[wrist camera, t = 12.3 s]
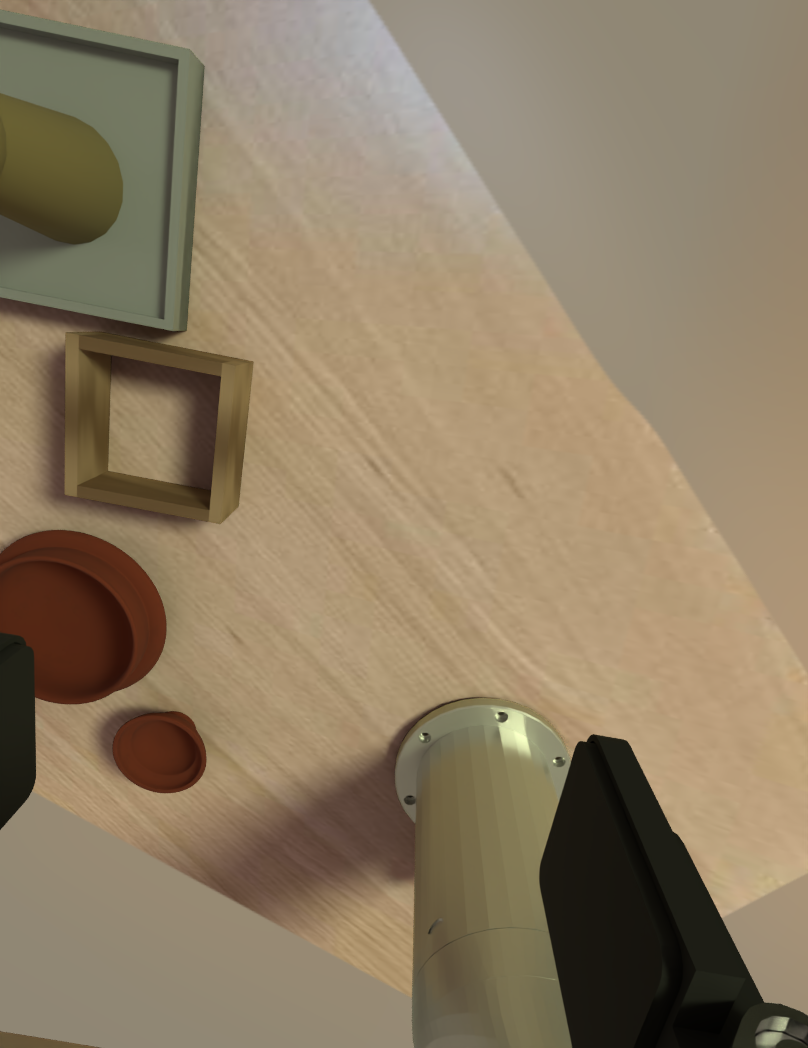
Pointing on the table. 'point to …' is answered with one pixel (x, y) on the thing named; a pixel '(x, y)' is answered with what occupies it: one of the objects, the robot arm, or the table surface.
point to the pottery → (97, 644)
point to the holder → (91, 427)
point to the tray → (144, 159)
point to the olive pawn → (56, 173)
